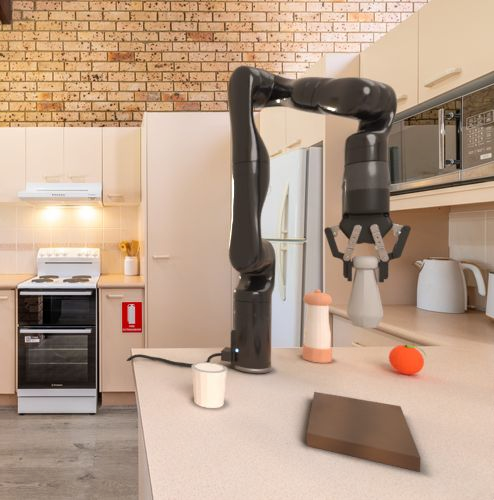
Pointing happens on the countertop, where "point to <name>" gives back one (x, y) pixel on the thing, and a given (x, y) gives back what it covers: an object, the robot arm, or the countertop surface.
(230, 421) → the countertop surface
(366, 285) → the salt shaker
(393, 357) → the clementine
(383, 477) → the countertop surface
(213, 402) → the white short cylinder
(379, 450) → the cutting board
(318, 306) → the pepper shaker
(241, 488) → the countertop surface
